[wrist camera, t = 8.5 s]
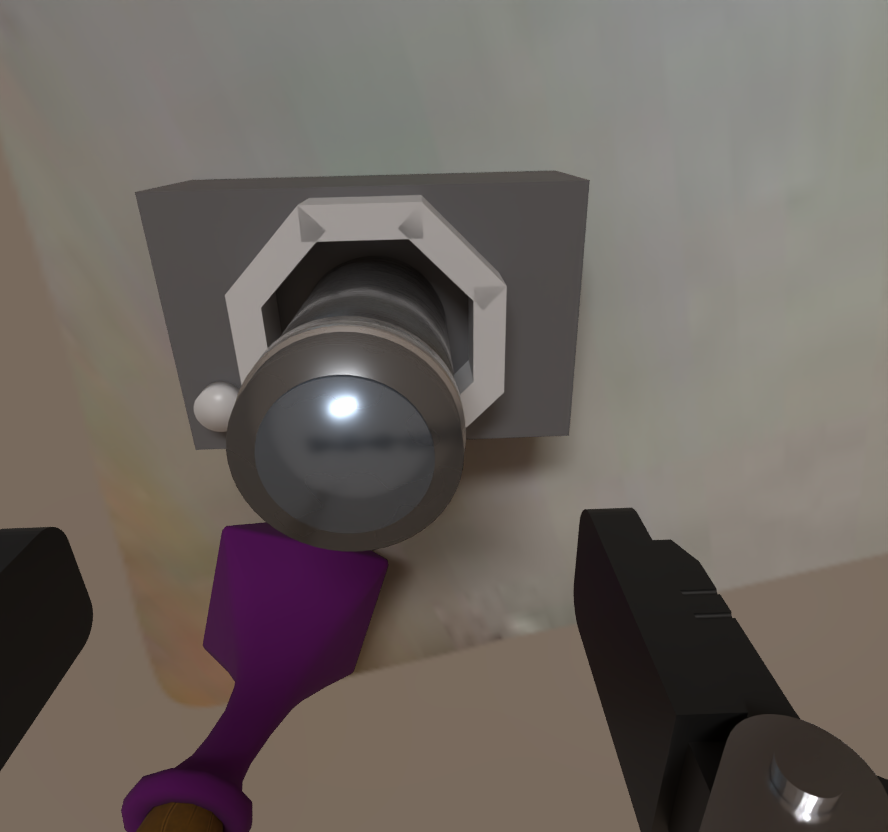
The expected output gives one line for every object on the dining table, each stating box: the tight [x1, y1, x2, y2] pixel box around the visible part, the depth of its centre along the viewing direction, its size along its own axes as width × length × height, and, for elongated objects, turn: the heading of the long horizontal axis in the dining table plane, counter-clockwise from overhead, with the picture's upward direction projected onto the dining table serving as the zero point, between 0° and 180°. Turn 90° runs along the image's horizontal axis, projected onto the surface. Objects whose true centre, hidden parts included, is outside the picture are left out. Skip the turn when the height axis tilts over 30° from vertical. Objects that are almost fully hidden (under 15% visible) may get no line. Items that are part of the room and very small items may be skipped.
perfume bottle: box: [121, 522, 388, 832], centre depth 22 cm, size 8×8×18 cm
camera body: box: [135, 171, 590, 450], centre depth 21 cm, size 14×9×7 cm, turn 91°
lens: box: [226, 256, 466, 551], centre depth 16 cm, size 5×5×9 cm
